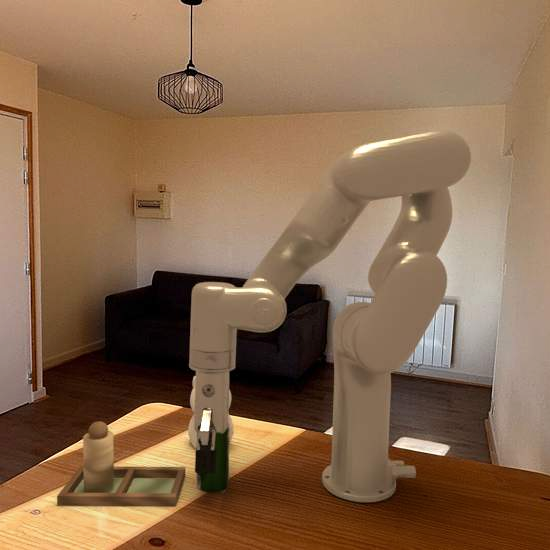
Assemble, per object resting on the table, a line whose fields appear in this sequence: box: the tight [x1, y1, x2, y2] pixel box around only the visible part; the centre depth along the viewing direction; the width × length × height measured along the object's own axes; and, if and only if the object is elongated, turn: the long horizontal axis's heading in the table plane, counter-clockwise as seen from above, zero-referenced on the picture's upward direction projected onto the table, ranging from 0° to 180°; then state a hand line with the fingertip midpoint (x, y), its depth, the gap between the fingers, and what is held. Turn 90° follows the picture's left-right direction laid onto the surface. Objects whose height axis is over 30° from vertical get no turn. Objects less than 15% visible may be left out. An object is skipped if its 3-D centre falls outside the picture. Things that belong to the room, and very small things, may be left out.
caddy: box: [56, 465, 186, 508], centre depth 80 cm, size 18×10×2 cm, turn 91°
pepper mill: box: [82, 421, 115, 493], centre depth 79 cm, size 5×5×11 cm
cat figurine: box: [187, 375, 234, 450], centre depth 99 cm, size 9×12×15 cm
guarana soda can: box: [196, 416, 230, 495], centre depth 82 cm, size 5×5×12 cm
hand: (208, 458), depth 82 cm, fingers open, 9 cm apart
